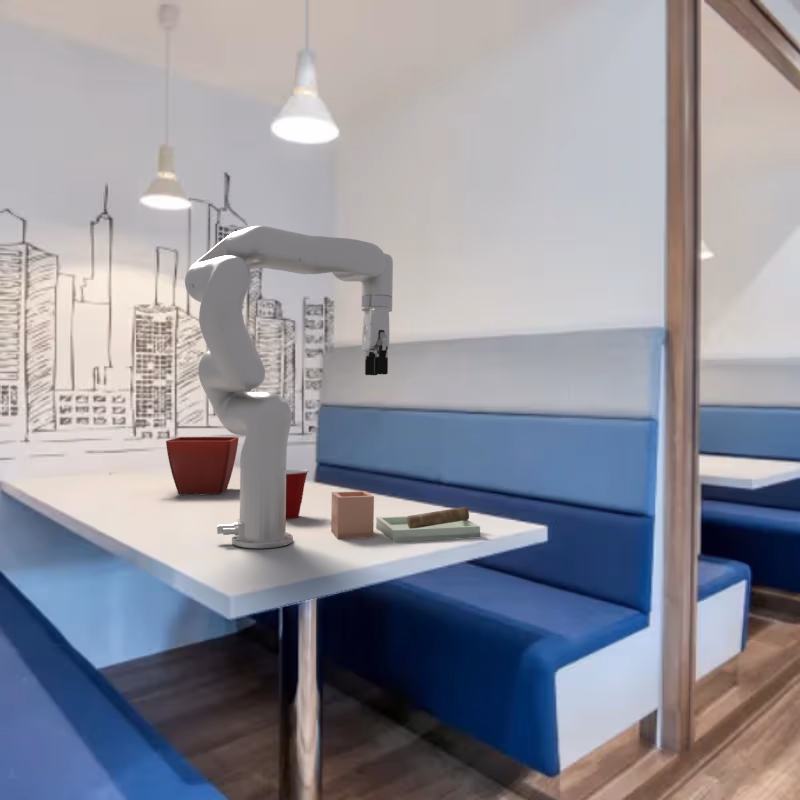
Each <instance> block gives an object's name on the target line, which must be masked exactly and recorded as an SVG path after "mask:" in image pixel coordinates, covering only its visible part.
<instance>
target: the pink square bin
mask: <svg viewBox="0 0 800 800" xmlns="http://www.w3.org/2000/svg"><path fill="white" fill-rule="evenodd" d="M374 505H375V496H374V495H372V494H371V493H369V492H368V491H366V490H361V491H360V490H358V491H332V492H331V523H330V524H331V526H330V528H331V529H330V531H331V533H332V534H333V536H335V538H336V539H338V540H339V539H340V540H341V539H343V540H344V539H360V538H366V539H367V538H374V527H375V526H374V523H375V522H374V521H375V520H374V514H375V513H374V510H375V509H374V507H375V506H374Z"/></svg>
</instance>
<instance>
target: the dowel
mask: <svg viewBox="0 0 800 800" xmlns="http://www.w3.org/2000/svg"><path fill="white" fill-rule="evenodd" d="M407 516H408V517H407V522H408V527H409V529H413V528H421V527H427V526H433V525H439V524H445V523H451V522H457V521H464V520H468V521H469V519H470V513H469V509H468V507H467V506H462V507H456V508H451V509H444V510H438V511H431V512H425V513H418V514H413V515H412V514H411V515H407Z"/></svg>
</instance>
